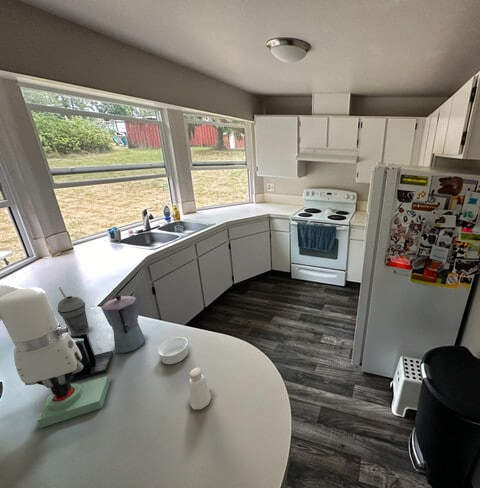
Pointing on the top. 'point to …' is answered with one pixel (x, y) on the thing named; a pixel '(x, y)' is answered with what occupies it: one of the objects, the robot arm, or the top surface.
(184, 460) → the top surface
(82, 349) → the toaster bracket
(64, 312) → the beverage cup
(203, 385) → the pepper shaker
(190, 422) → the top surface
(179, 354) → the ramekin
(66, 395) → the stop button
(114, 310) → the moka pot
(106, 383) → the control block
